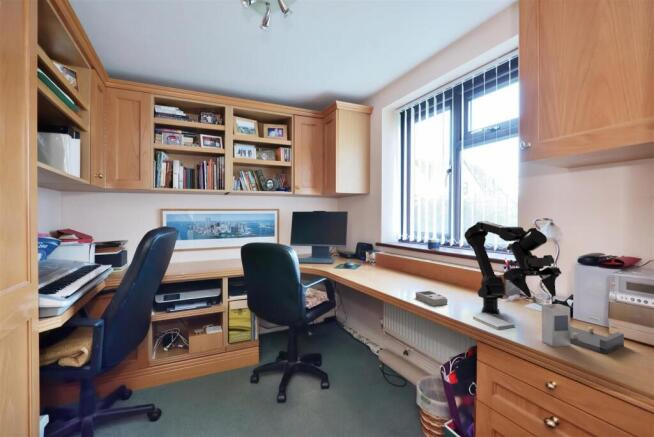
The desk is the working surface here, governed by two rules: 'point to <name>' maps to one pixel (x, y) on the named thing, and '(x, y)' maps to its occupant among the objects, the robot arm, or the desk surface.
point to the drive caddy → (556, 325)
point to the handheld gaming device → (431, 298)
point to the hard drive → (493, 321)
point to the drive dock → (596, 340)
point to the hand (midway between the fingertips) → (542, 296)
